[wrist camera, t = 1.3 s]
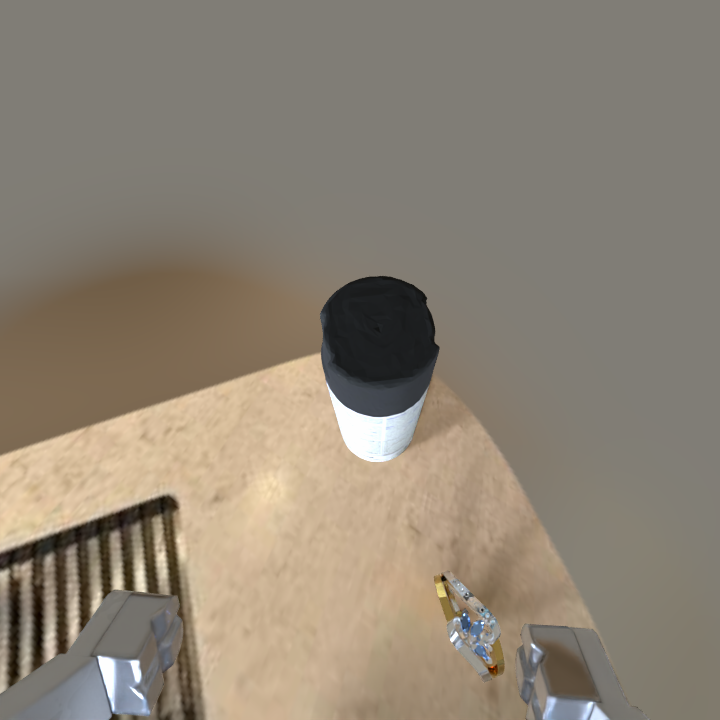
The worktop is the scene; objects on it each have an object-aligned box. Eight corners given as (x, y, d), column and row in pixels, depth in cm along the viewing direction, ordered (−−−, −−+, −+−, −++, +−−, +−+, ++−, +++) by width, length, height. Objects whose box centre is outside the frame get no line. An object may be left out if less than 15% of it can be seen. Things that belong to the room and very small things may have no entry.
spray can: (406, 387, 43) (427, 261, 25) (421, 458, 40) (456, 376, 22) (336, 398, 43) (305, 280, 24) (347, 470, 40) (320, 398, 22)
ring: (495, 658, 34) (527, 686, 27) (456, 675, 34) (477, 708, 26) (456, 563, 37) (475, 564, 30) (419, 577, 37) (429, 583, 29)
